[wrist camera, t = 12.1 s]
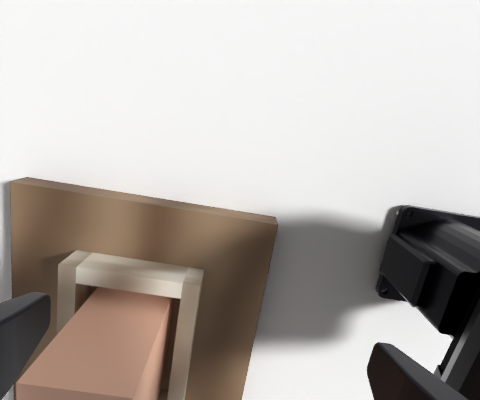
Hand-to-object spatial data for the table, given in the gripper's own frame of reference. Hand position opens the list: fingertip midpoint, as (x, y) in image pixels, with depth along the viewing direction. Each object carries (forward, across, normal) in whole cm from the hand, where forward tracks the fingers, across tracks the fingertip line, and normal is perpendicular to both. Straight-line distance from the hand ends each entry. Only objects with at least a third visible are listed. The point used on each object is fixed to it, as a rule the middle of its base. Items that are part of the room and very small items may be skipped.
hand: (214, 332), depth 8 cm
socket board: (+12, +5, +9) cm, 16 cm away
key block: (+10, +5, +9) cm, 15 cm away
